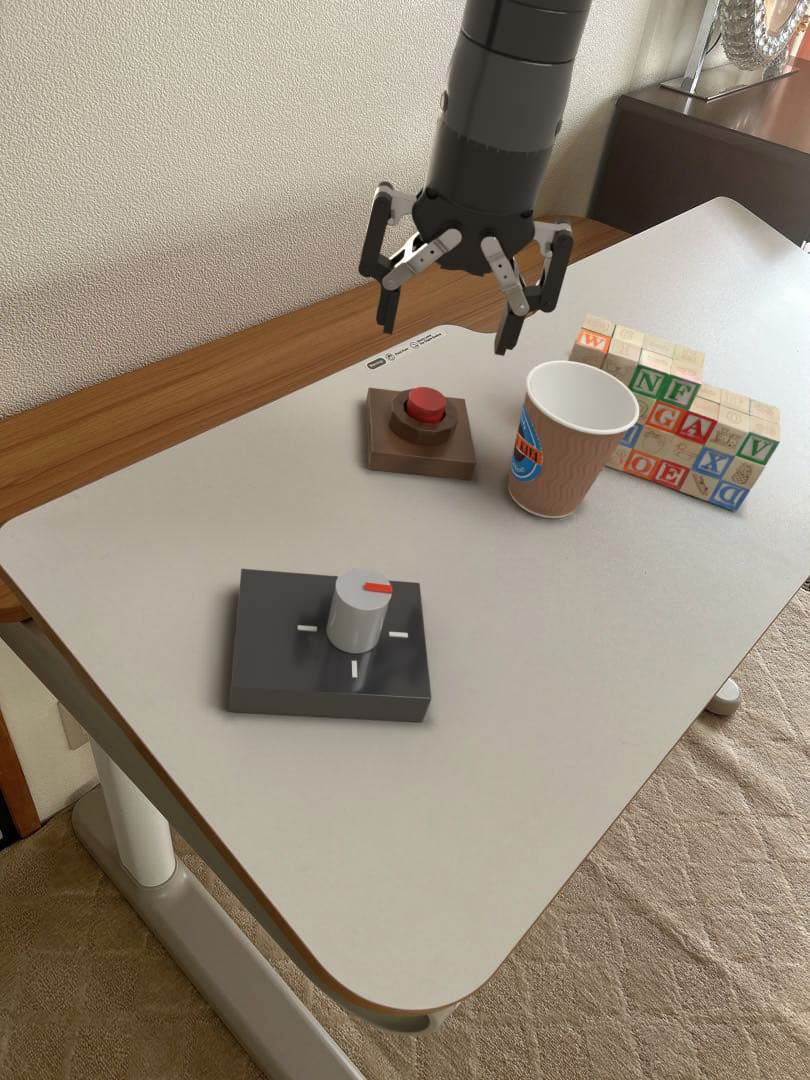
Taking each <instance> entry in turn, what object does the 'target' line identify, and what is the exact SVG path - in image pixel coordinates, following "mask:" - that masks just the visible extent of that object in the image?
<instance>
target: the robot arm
mask: <svg viewBox="0 0 810 1080" xmlns="http://www.w3.org/2000/svg"><path fill="white" fill-rule="evenodd" d="M592 3H593V0H465V4H464V9H463V13H462V18H461V22H460V28H459V32H458V36H457V38H456V42H455V46H454V48H453V51H452V53H451V57H450V61H449V63H448V66H447V71H446V75H445V81H444V85H443V86H444V87H443V90H442V92H441V95H440V101H439V109H438V114H437V115H438V116H437V121H436V125H435V128H434V134H433V139H432V144H431V149H430V153H429V159H428V163H427V168H426V172H425V179H424V182H423V185H422V187H421V189H420V190H419V192H418V193H417V194H416V195H413V194H409V193H406V192H402V191H398V190H395V189H394V186H393V185H392V183H391V182H389V181H386V180H383V181H380V182H378V183H377V185H376V187H375V192H374V195H373V200H372V205H371V209H370V214H369V218H368V221H367V227H366V230H365V235H364V240H363V244H362V248H361V253H360V259H359V263H358V268H357V269H358V273H359V275H360V276H361V277H362V278H372V279H374V280H376V281H377V282H378V283H379V285H380V292H379V297H378V304H377V309H376V313H375V314H376V315H375V320H376V324H377V325H378V326H382V327H383V329H382V334H386V335H391V336H392V335H393V333H394V327H395V322H396V318H397V312H398V307H399V302H400V298H401V292H402V285H403V284H404V283H405V282H407V281H408V280H409V279H410V278H412V277H413V276H418V275H419V274H421V273H422V272H423V271H425V269H427V268H428V267H430V266H431V265H432V264H434V263H436V264H437V265H439V269H441V270H447V271H464V272H466V273H468V274H469V275H471V276H476V277H481V278H484V276H485V275H486V274H491V273H493V275H494V277H495V279H496V281H497V284H498V285H499V287H500V290H501V292H502V293H503V294H504V295H505V298H506V299H505V303H504V307H503V310H502V313H501V316H500V320H499V323H498V327H497V330H496V333H495V337H494V342H493V348H494V350H493V351H494V355H497V356H502V357H504V356H505V355H506V351H507V350H509V351H513V350H514V348H515V347H516V346H517V344H518V341H519V337H520V334H521V331H522V329H523V325H524V321H525V319H526V317H527V315H528V314H529V313H532V312H534V311H541V312H542V313H545V314H548V313H552V312H553V311H555V310H556V308H557V305H558V301H559V299H560V294H561V291H562V288H563V284H564V280H565V276H566V272H567V269H568V266H569V262H570V258H571V255H572V251H573V247H574V242H575V241H574V235H573V227H572V223H571V221H570V220H569V219H568V218H566V217H565V218H564V217H562V218H557V220H555V222H554V223H552V222H544V221H537V220H535V218H534V217H535V216H534V213H535V210H536V205H537V202H538V198H539V195H540V192H541V189H542V186H543V182H544V179H545V175H546V173H547V169H548V166H549V162H550V159H551V156H552V153H553V149H554V145H555V143H556V139H557V137H558V135H560V131H561V129H562V126H563V123H564V122H563V121H564V120H563V119H564V116H563V115H564V113H565V109H566V106H567V102H568V98H569V95H570V89H571V82H572V76H573V71H574V66H575V61H576V57H577V54H578V51H579V47H580V45H581V41H582V37H583V34H584V30H585V27H586V24H587V20H588V17H589V14H590V10H591V7H592ZM406 215H411V219H412V222H413V223H414V226H415V228H416V230H417V231H416V232H415V233H414V234H413V235H412V236H411V237H410V238H408V240H407V241H406V242H405V244H404V245H403V246H402V247H401V248H400V249H399V250H398V251H396V252H395V253H394V254H392V256H390V257H387V256H386V255H383V254H382V253H381V250H382V246H383V242H384V238H385V233H386V230H387V226H389V227H394V226H396V225H398V224H399V223H400V221H401V219H402V218H403V217H404V216H406ZM533 241H536V242H537V243H538V245H539V253H540V255H541V256H542V257H544V261H543V265H542V270H541V274H540V277H539V280H538V281H539V282H538V284H536V285H529V286H528V285H527V283H526V281H525V279H524V277H523V275H522V272H521V270H520V267H519V264H518V261H517V258H516V255H518V254H519V253H520V252H521V251H522V250H524V249H525V248H526V247H527V246H529V245H531V243H532V242H533Z"/></svg>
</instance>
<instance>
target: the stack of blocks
mask: <svg viewBox="0 0 810 1080" xmlns="http://www.w3.org/2000/svg"><path fill="white" fill-rule="evenodd" d="M704 360H705V352H703V351H700V350H697V349H694V348H690V347H688V346H685V345H682V344H679V343H675V342H672V341H670V340H668V339H664V338H661V337H657V336H654V335H651V334H646V333H644V332H642V331H639V330H636V329H633V328H630V327H627V326H623V325H622V324H616V323H615V322H613V321H611V320H607V319H605V318H601V317H598V316H597V315H596V316H595V315H593V314H590V313H586V315H585V317H584V320H583V323H582V325H581V327H580V331H579V333H578V336H577V339H575V341H574V344H573V346H572V349H571V351H570V354H569V356H568V360H567V361H573V362H579V363H583V364H587V365H590V366H593V367H596V368H598V369H600V370H603V371H605V372H607V373H608V374H610V375H612V376H614V377H615V378H617V379H618V380H619V381H621V382H622V383H623V384H624V385H625V386H626V387H628V389H629V390H630V391H631V392H632V393H633V395H634V396H635V398H636V400H637V402H638V405H639V417H638V420H637V421H636V423H635V424H634V425H633V426H632V427H631V428H629V429H628V430H627V432H626V433H625V435H624V437H623V438H622V440H621V441H620V443H619V444H618V446H617V447H616V449H615V451H614V452H613V454H612V455H611V457H610V458H609V460H608V461H607V463H606V464H605V466H606V467H609V468H612V469H615V470H617V471H621V472H625V473H627V474H631V475H634V476H636V477H639V478H643V479H645V480H648V481H652V482H654V483H657V484H659V485H662V486H665V487H668V488H671V489H673V490H677V491H679V492H682V493H684V494H686V495H689V496H693V497H695V498H698V499H700V500H703V501H706V502H709V503H712V504H715V505H717V506H720V507H721V508H722V507H723V508H725V509H728V510H731V511H734V512H737V511H738V510H739V509H740V507H741V506H742V504H743V502H744V501H745V500H746V498H747V496H748V495H749V493H750V492H751V490H752V489H753V488H754V486H755V485H756V483H757V481H758V479H759V478H760V476H761V475H762V473H763V471H764V470H765V468H766V465H767V464H768V462H769V461H770V460H771V458H772V456H773V454H774V453H775V451H776V450H777V448H778V446H779V444H780V443H781V408H780V407H777V406H773V405H771V404H768V403H766V402H765V403H764V402H762V401H760V400H756V399H751V398H750V397H748V396H746V395H742V394H740V393H737V392H734V391H731V390H728V389H726V388H725V389H724V388H721V387H719V386H716V385H713V384H710V383H707V382H705V381H703V374H704ZM633 417H634V416H633Z"/></svg>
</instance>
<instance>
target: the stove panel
mask: <svg viewBox="0 0 810 1080" xmlns="http://www.w3.org/2000/svg"><path fill="white" fill-rule="evenodd" d="M338 576H339V575H329V574H328V575H326V574H316V573H315V574H314V573H304V572H303V573H302V572H290V571H279V570H278V571H277V570H266V569H265V570H264V569H254V568H253V569H252V568H241V569H240V579H239V587H238V600H237V610H236V622H235V623H236V624H235V635H234V645H233V646H234V647H233V657H232V669H231V682H230V693H229V695H230V696H229V705H228V711H229V712H230V713H243V714H244V713H245V714H247V713H248V714H264V715H265V714H266V715H283V716H285V715H287V716H301V717H303V716H304V717H305V716H306V717H324V718H341V719H343V718H345V719H359V720H360V719H363V720H380V721H381V720H383V721H402V722H421V723H422V722H424V720H425V717H426V714H427V712H428V709H429V706H430V704H431V701H432V691H431V690H432V689H431V681H430V679H431V678H430V670H429V661H428V652H427V641H426V632H425V623H424V613H423V612H424V611H423V603H422V601H423V600H422V591H421V584H420V582H414V581H412V582H411V581H402V580H401V581H400V580H391V579H390V580H389V579H387V580H388V581H389V583H390V585H391V586H392V595H391V599H390V602H389V606H388V609H387V613H386V616H385V620H384V624H383V627H382V631H381V634H380V638H379V641H378V643H377V644H376V646H375V647H374V648H372V649H371V650H369V651H367V652H364V653H348V652H345V651H342V650H340V649H338V648H337V647H336V646H334V645H333V644H332V643H331V641H330V640H329V638H328V636H327V632H326V627H327V622H328V617H329V613H330V608H331V603H332V598H333V594H334V589H335V584H336V580H337V578H338Z"/></svg>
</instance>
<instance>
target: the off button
mask: <svg viewBox="0 0 810 1080" xmlns="http://www.w3.org/2000/svg"><path fill="white" fill-rule="evenodd" d="M414 388H415V389H413V388H412V389H413V390H412V391H411V392H410V394H409V398H408V402H407V406H406V412H407V414H408V415H409V416H410V417H411V418H413V419H415V420H417V421H419V422H424V423H432V424H433V423H437V422H439V421H440V420H441V419H442V416H443V413H444V409H445V406H446V399H445V397H446V396H445V395H444V394H443V393H442V392H441V391H439V390H437V389H436V388H432V387H428V386H418V387H414Z"/></svg>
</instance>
